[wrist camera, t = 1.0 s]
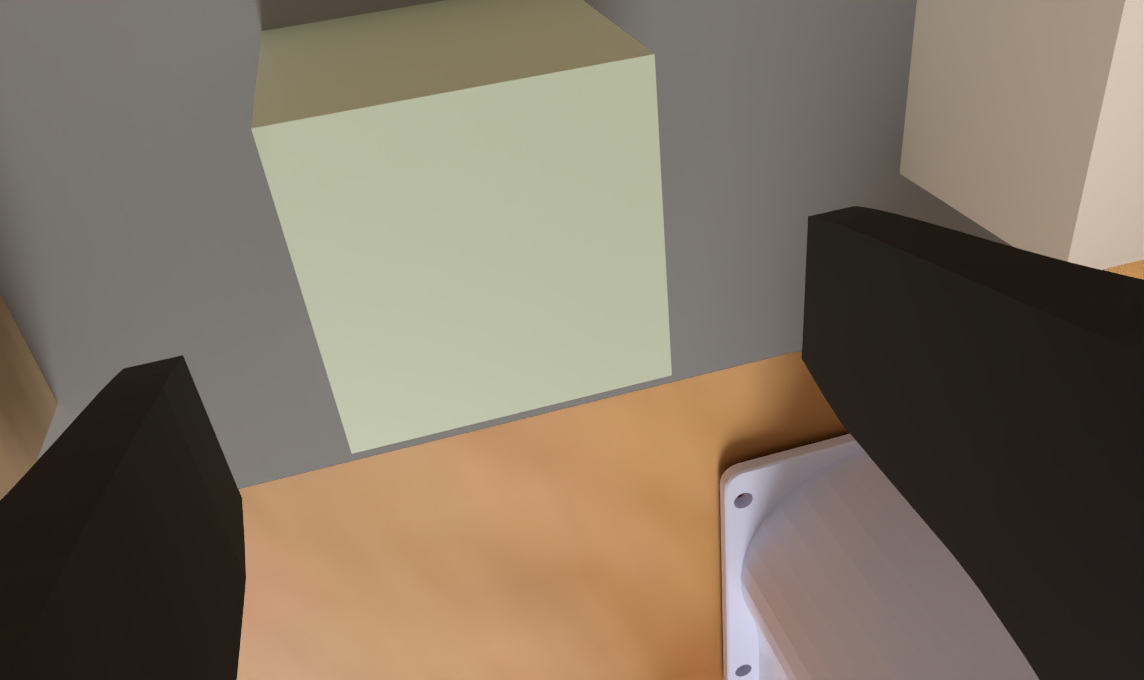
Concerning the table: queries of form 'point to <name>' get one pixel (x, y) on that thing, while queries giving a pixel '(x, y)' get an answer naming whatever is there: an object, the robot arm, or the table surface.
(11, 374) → the base block
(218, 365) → the mat
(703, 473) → the table surface
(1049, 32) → the offwhite cube
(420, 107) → the sage cube
